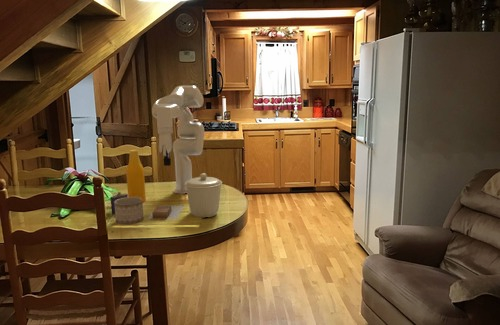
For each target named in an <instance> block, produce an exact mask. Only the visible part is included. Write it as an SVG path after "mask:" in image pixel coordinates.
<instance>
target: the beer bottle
mask: <svg viewBox="0 0 500 325" xmlns="http://www.w3.org/2000/svg"><path fill="white" fill-rule="evenodd" d="M128 159H129V160H128V164H127V168H126V172H125V173H126V184H127V185H126V187H127V194H128V197H139V198H142V200H143V203H145V202H146V201H147V199H146V198H147V197H146V182H145V169H144V166H143V164H142V162H141V159H140V155H139V150H138V149H130V150H129V158H128Z"/></svg>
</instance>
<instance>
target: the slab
mask: <svg viewBox="0 0 500 325" xmlns="http://www.w3.org/2000/svg"><path fill="white" fill-rule="evenodd" d="M171 206H172V205H157V206H156V207H155V208H154V209H153V210H152V212H151V213H152V215H153V218H168V216H169V215H170V213H171Z"/></svg>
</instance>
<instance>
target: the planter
mask: <svg viewBox="0 0 500 325" xmlns="http://www.w3.org/2000/svg"><path fill="white" fill-rule="evenodd" d="M143 203H144V202H143V200H142V198H139V197H125V198H120V199H117V200H116V201H115V202H114V205H115V223H117V224H120V225H132V224H137V223H140V222H142V221H143V220H144V216H145V215H144V204H143Z"/></svg>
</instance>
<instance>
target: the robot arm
mask: <svg viewBox="0 0 500 325" xmlns="http://www.w3.org/2000/svg"><path fill="white" fill-rule="evenodd" d="M204 101H205V100H204V95H203V94H202V92H201V91H200V89H199V88H198V87H197V85H178V86H176V87H175V88H173V90H172V92H170V94H167V95H166V96H163V97H161V98H158V99H157V100H156V101H155V102H154V103H153V105H152V107H151V114H152V116H153V118H155V119H156V125H157V128H156V129H157V134H158V150H159V153H160V154H162V155H163V166H165V167H167V166H170V167H171V163H172V162H171V151H172V150H173V155H174V168H175V186H176V187H175V188H174V189H173V193H175V194H180V195H184V194H185V193H187V188H186V186H185V182H187V181H188V180H190V179H192V178H193V175H192V174H193V170H192V169H193V168H192V160H191V159H190V157H189V156H201V155H202V154H203V151H204V150H203V149H204V140H205V128H204V125H203V123H201V122H194V115H193V113H192V112H191V111H190V110H189V109H188V108H191V109H193V108H201V107H203V105H204ZM177 118H178V123H177V136H178V137H179V138H178V139H175V140H174V141H173V139H172V134H173V133H174V131H173V130H174V128H173V119H177ZM185 195H186V194H185Z"/></svg>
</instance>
